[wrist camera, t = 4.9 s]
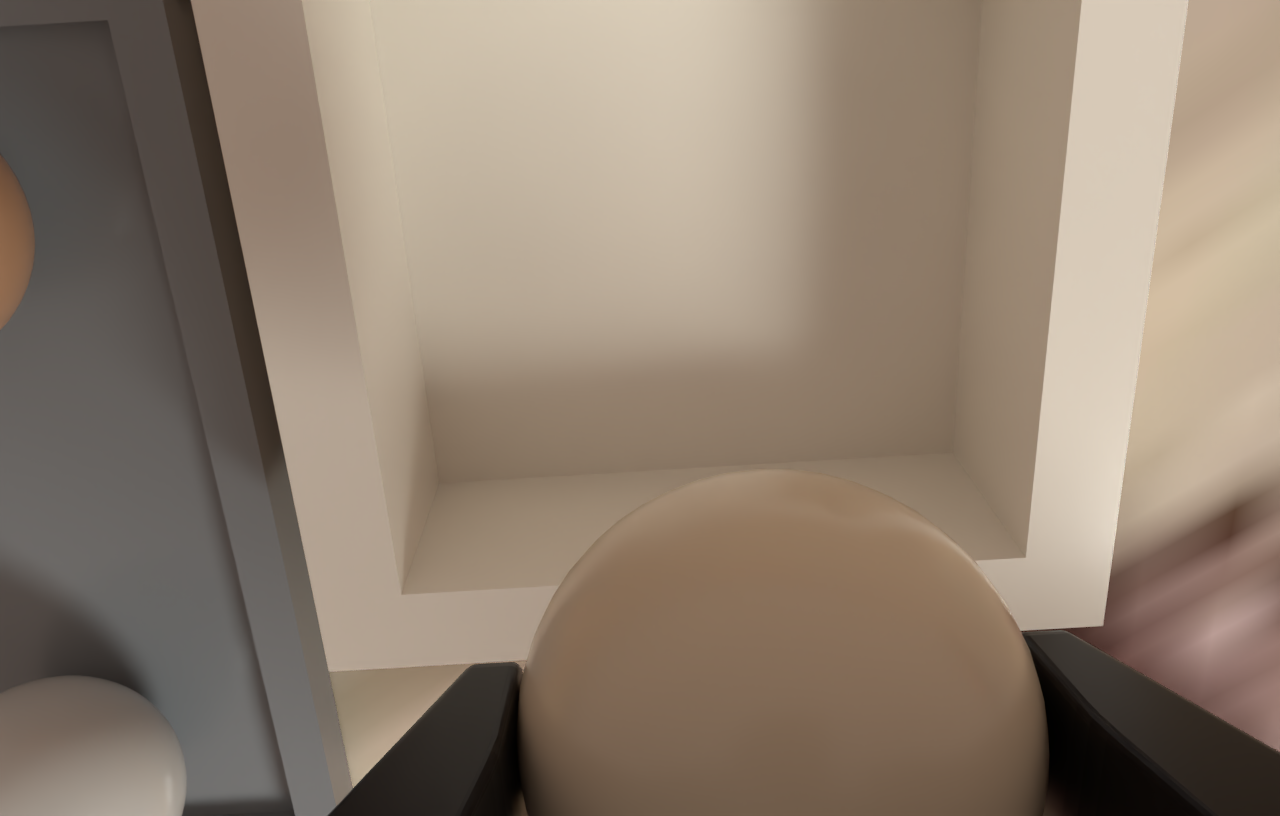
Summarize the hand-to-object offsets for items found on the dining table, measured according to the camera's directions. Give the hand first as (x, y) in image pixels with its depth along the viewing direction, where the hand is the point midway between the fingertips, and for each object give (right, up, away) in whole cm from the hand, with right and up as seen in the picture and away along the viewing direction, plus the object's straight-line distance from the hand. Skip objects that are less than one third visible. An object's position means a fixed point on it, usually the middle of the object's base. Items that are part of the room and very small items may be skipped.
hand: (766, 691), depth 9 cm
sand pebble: (0, +1, +1) cm, 2 cm away
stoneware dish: (0, +6, +8) cm, 10 cm away
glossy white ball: (-11, -3, +11) cm, 16 cm away
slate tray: (-11, +1, +9) cm, 15 cm away
